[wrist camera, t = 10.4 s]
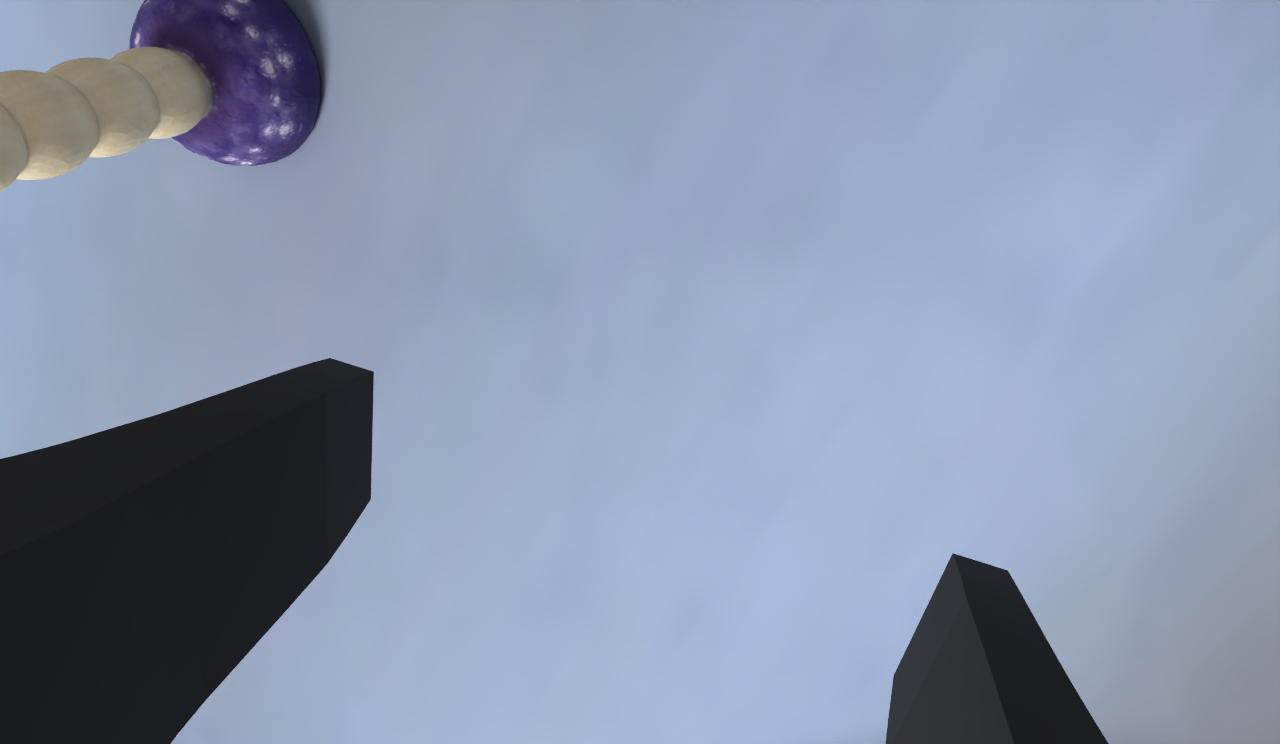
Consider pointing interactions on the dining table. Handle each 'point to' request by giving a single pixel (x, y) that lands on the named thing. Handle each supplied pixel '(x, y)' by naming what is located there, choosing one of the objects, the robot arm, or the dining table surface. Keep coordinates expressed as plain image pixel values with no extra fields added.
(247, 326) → the dining table surface
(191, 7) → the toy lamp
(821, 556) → the dining table surface
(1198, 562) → the dining table surface
